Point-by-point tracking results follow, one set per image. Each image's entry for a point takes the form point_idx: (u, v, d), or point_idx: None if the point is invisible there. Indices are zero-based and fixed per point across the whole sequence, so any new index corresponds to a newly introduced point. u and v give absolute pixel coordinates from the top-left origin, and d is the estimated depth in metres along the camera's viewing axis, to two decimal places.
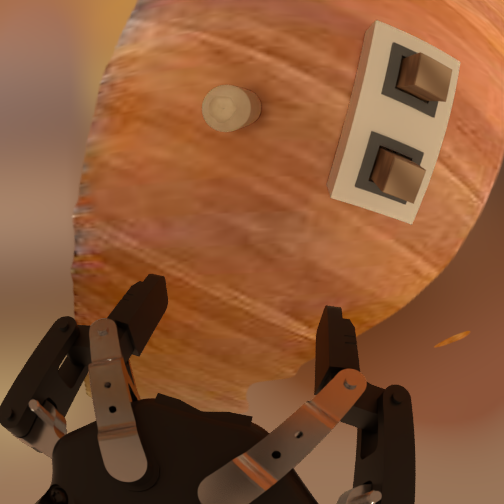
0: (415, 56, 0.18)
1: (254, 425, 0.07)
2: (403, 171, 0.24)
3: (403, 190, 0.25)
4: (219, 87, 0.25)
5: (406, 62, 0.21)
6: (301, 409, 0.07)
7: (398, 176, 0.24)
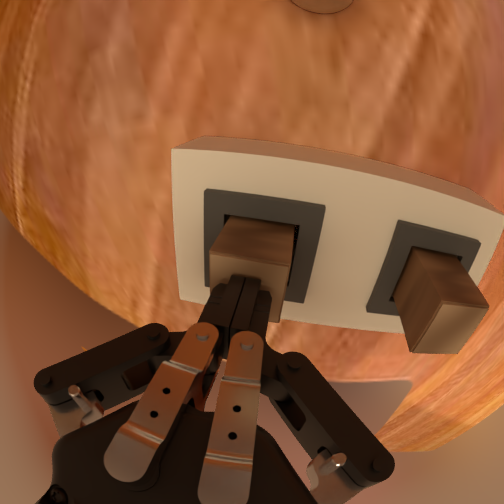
0: (477, 292, 0.12)
1: None
2: (264, 284, 0.14)
3: None
4: None
5: (456, 266, 0.14)
6: (222, 387, 0.07)
7: None
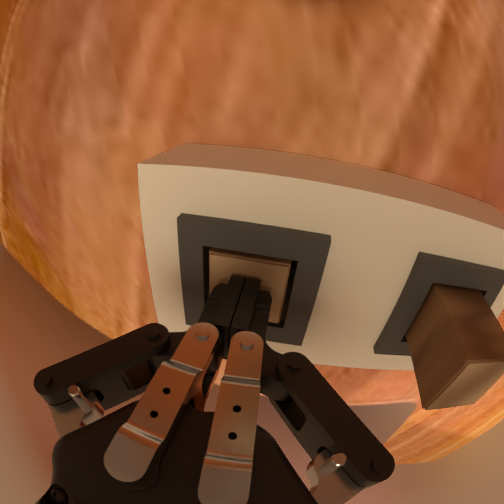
0: None
1: None
2: (264, 284, 0.14)
3: None
4: None
5: (481, 304, 0.11)
6: (222, 387, 0.07)
7: None
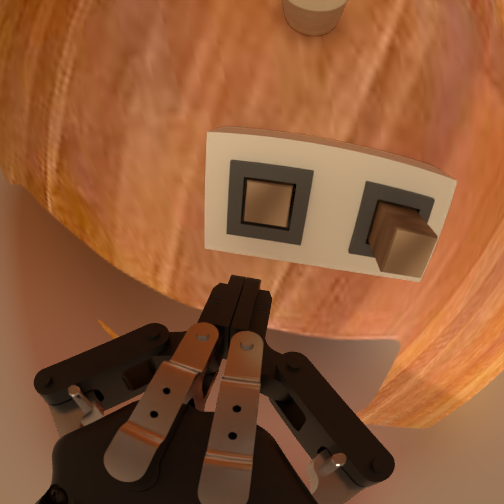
0: (429, 228, 0.19)
1: None
2: (278, 200, 0.24)
3: (255, 204, 0.24)
4: None
5: (413, 214, 0.21)
6: (222, 387, 0.07)
7: (270, 196, 0.24)
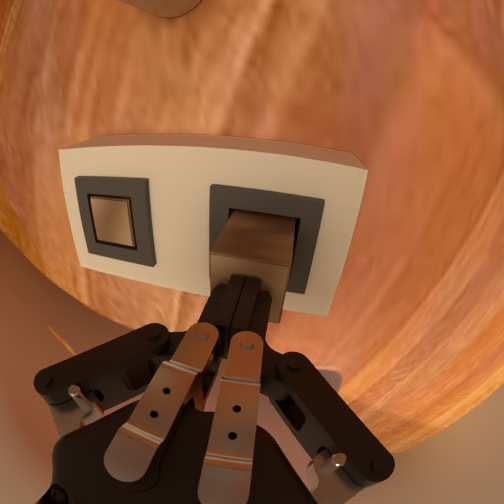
0: (285, 250, 0.14)
1: None
2: (119, 216, 0.19)
3: (101, 222, 0.20)
4: None
5: (282, 226, 0.16)
6: (222, 387, 0.07)
7: (112, 212, 0.19)
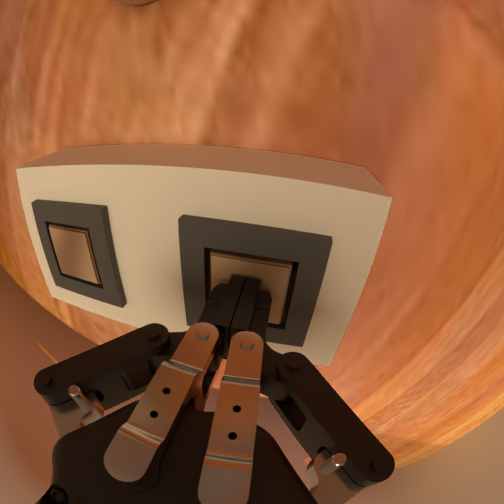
0: None
1: None
2: (80, 249, 0.15)
3: (63, 255, 0.16)
4: None
5: None
6: (222, 387, 0.07)
7: (72, 244, 0.15)
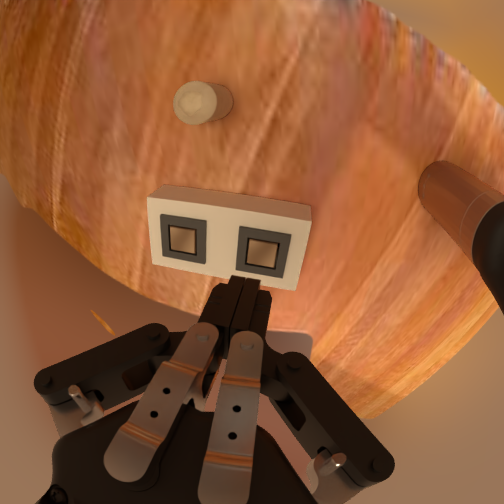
0: None
1: None
2: (188, 237, 0.40)
3: (176, 240, 0.40)
4: (213, 94, 0.27)
5: None
6: (222, 387, 0.07)
7: (183, 235, 0.40)
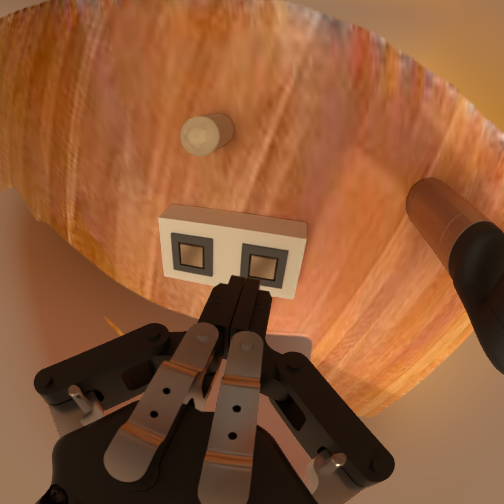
0: None
1: None
2: (196, 253, 0.45)
3: (185, 256, 0.45)
4: (215, 129, 0.32)
5: None
6: (222, 387, 0.07)
7: (192, 251, 0.45)
